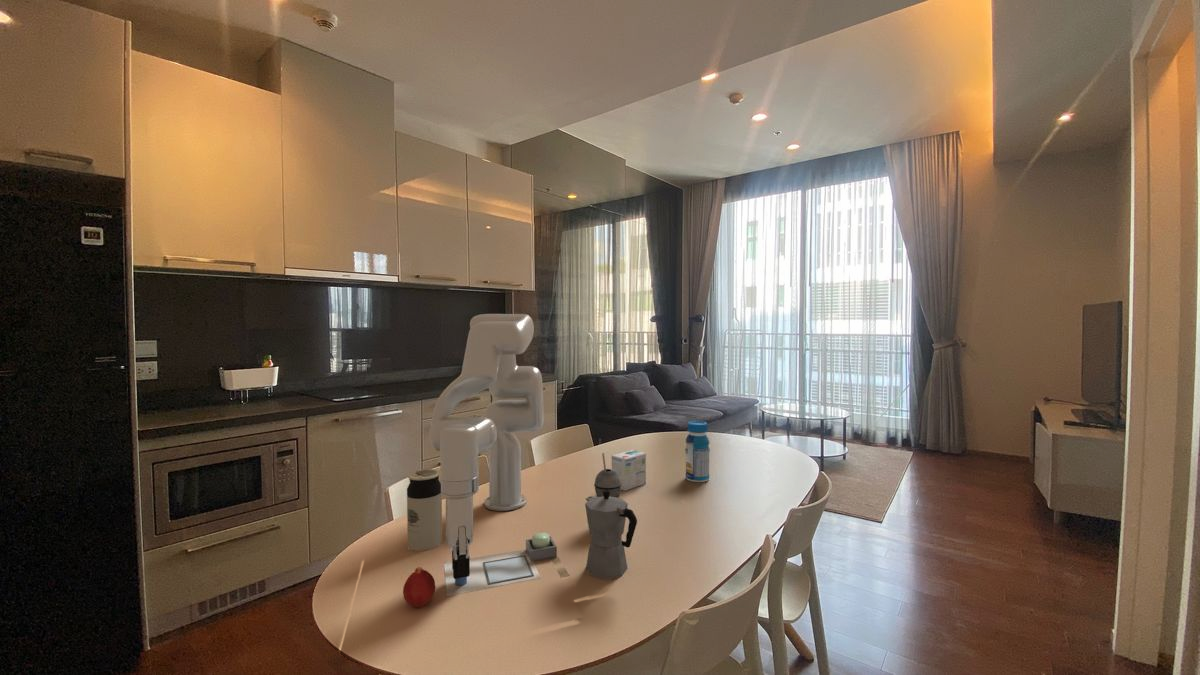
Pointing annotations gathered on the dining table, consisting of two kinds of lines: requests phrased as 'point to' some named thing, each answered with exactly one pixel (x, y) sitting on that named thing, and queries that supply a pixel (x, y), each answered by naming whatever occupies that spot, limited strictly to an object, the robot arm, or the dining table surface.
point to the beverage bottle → (697, 452)
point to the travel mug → (424, 510)
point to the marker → (460, 580)
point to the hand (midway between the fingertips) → (460, 571)
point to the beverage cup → (607, 482)
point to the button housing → (541, 551)
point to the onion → (419, 588)
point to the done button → (540, 540)
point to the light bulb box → (630, 468)
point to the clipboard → (497, 571)
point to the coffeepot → (608, 535)
